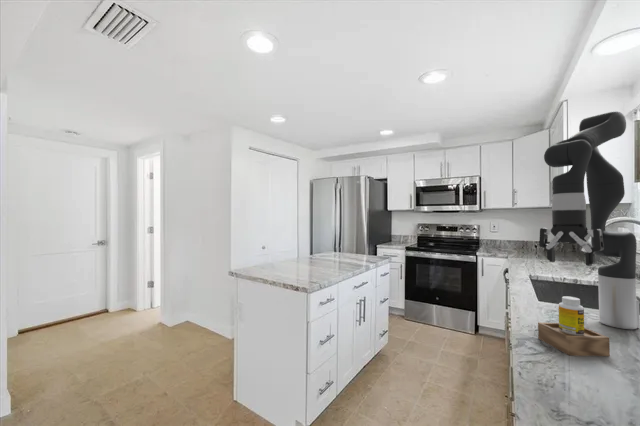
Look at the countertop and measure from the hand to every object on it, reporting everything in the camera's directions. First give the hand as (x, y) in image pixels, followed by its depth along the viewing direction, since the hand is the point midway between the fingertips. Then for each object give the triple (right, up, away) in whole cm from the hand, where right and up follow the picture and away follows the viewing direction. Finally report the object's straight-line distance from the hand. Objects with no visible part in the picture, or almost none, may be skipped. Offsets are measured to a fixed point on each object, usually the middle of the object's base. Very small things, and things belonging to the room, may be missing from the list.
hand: (569, 263), depth 82 cm
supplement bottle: (0, -21, -1) cm, 20 cm away
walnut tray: (0, -24, -1) cm, 24 cm away
